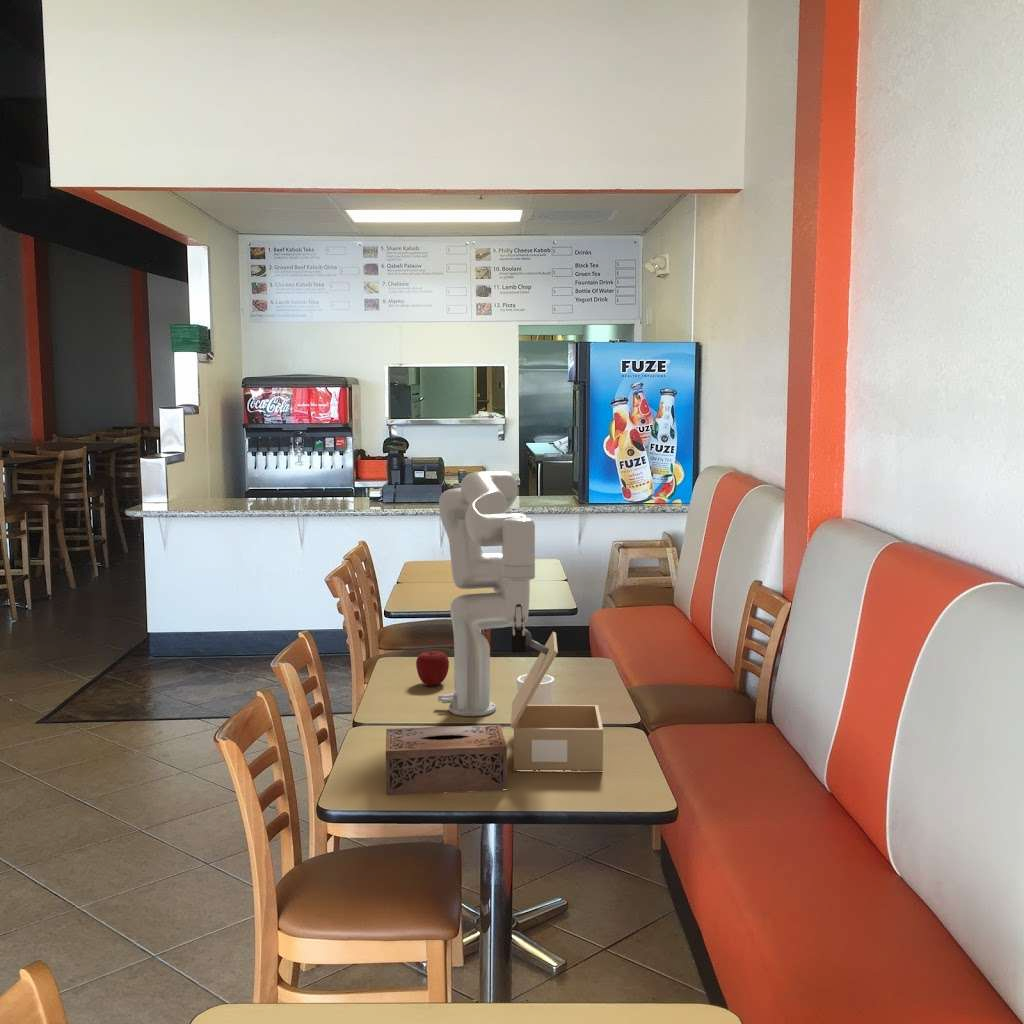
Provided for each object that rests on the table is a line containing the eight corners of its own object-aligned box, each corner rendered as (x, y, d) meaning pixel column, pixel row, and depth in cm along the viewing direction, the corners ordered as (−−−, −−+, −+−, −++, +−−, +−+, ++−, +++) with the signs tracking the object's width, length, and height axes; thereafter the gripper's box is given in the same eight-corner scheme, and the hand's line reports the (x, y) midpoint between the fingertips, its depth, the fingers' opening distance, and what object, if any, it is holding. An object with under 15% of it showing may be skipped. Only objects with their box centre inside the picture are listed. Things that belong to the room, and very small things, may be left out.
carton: (513, 772, 229) (513, 729, 228) (515, 744, 247) (515, 704, 246) (602, 772, 229) (603, 729, 228) (597, 745, 247) (597, 705, 246)
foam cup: (535, 720, 266) (535, 671, 264) (561, 728, 259) (561, 678, 258) (509, 728, 259) (509, 678, 257) (535, 737, 252) (535, 686, 251)
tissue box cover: (500, 766, 233) (500, 724, 232) (507, 791, 219) (507, 746, 218) (387, 771, 230) (386, 728, 229) (386, 796, 216) (385, 751, 215)
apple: (420, 679, 304) (420, 646, 302) (452, 680, 302) (451, 647, 301) (413, 688, 294) (412, 654, 293) (445, 689, 293) (445, 655, 292)
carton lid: (513, 728, 228) (475, 707, 228) (515, 703, 246) (480, 684, 246) (557, 652, 226) (519, 631, 225) (555, 633, 244) (520, 613, 244)
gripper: (502, 565, 242) (503, 641, 244) (501, 578, 225) (501, 658, 227) (534, 565, 242) (534, 641, 244) (535, 578, 225) (535, 658, 227)
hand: (518, 648), depth 235 cm, fingers closed on carton lid, 4 cm apart
